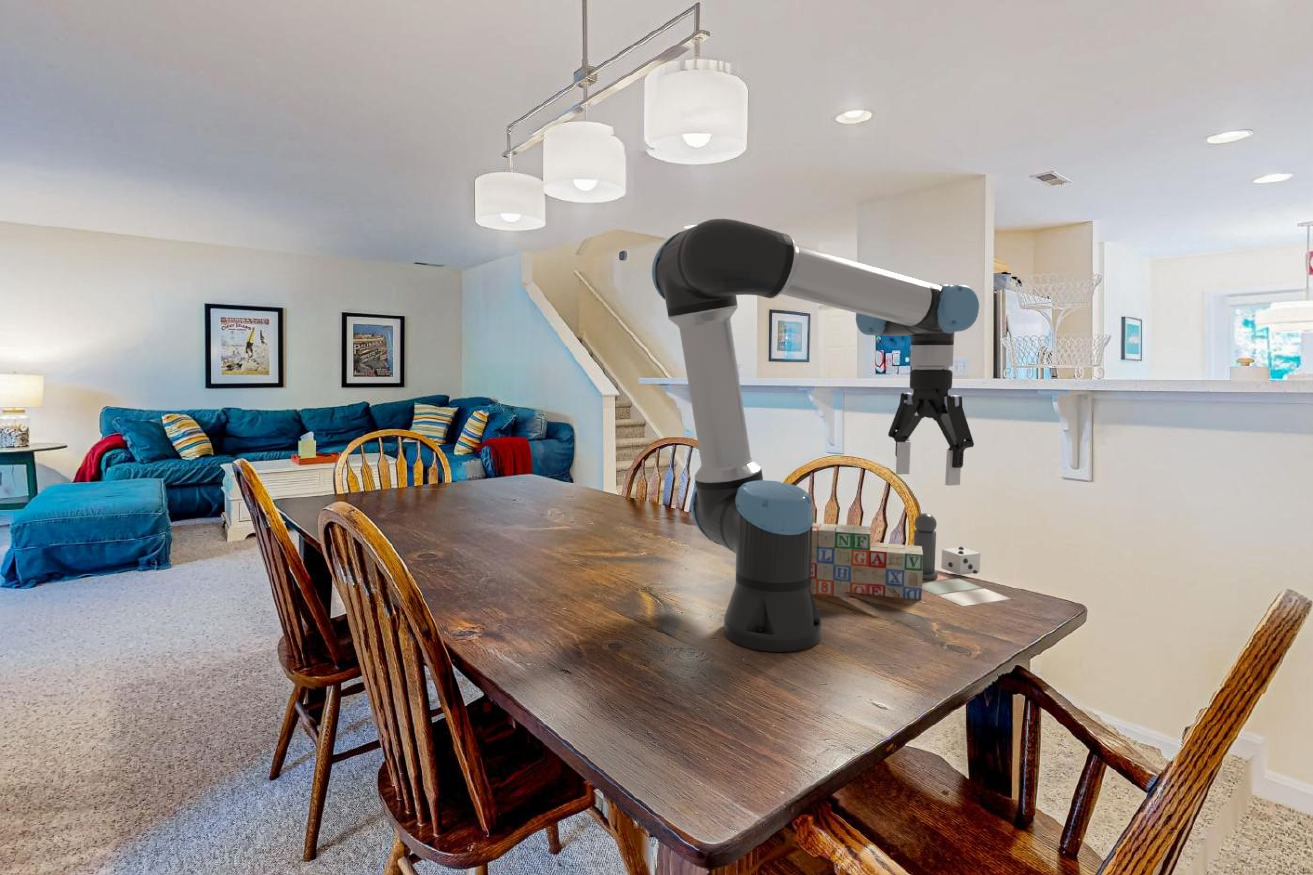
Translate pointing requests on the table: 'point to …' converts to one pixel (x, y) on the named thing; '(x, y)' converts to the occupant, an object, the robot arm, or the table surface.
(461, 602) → the table surface
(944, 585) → the board
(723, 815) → the table surface
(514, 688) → the table surface
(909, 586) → the stack of blocks
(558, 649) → the table surface
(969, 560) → the die
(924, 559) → the pawn
